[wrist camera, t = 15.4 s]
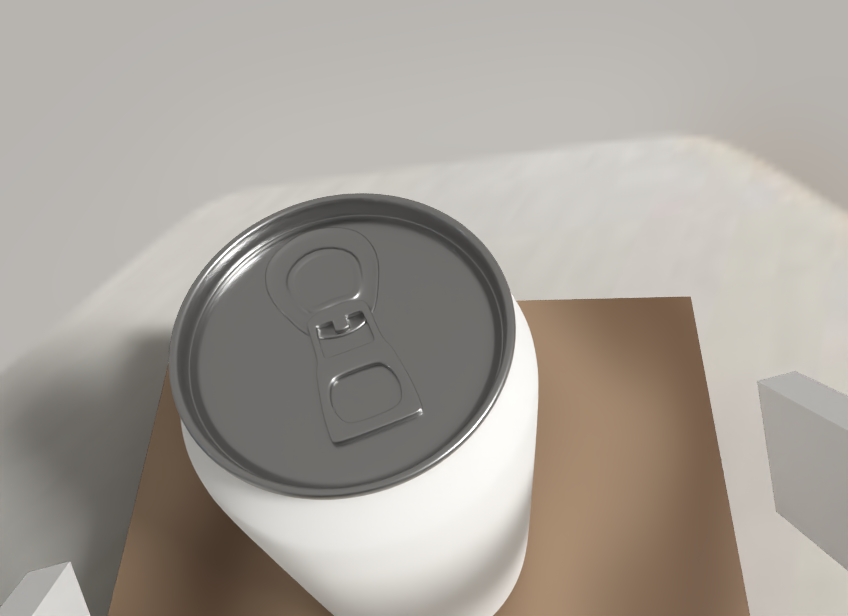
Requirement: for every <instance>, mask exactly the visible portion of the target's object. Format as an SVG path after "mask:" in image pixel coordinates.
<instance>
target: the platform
mask: <svg viewBox="0 0 848 616" xmlns="http://www.w3.org/2000/svg"><path fill="white" fill-rule="evenodd" d="M516 302H517V303H518V305H519V307H520V309H521V311H522V313H523V315H524V317H525V319H526V321H527V324H528V326H529V329H530V332H531V335H532V339H533V343H534V348H535V353H536V359H537V367H538V414H537V430H536V445H535V459H534V472H533V485H532V497H531V509H530V520H529V531H528V540H527V547H526V553H525V558H524V562H523V566H522V569H521V572H520V575H519V577H518V579H517V582H516V584H515V586H514V588H513V590H512V591H511V593H510V595H509V596H508V598H507V599H506V601H505V602H504V604H503V605H502V606H501V607H500V609H499V610H498V611H497V612H496V613H495V614H494V615H493V616H750V613H749V608H748V602H747V597H746V592H745V586H744V581H743V575H742V570H741V565H740V559H739V554H738V549H737V543H736V538H735V533H734V527H733V522H732V516H731V511H730V506H729V500H728V495H727V490H726V484H725V479H724V473H723V468H722V463H721V457H720V452H719V447H718V441H717V436H716V431H715V425H714V420H713V414H712V409H711V404H710V398H709V393H708V388H707V382H706V377H705V371H704V366H703V361H702V355H701V350H700V345H699V339H698V334H697V329H696V323H695V318H694V312H693V307H692V302H691V297H655V298H614V299H572V300H531V301H516ZM108 616H334V615H333V614H332V613H330V612H329V611H328V610H327V609H326V608H325V607H324V606H323V605H322V604H321V603H319V602H318V601H317V600H316V599H315V598H314V597H313V596H312V595H311V594H310V593H309V592H307V591H306V590H305V589H304V588H303V587H302V586H301V585H300V584H299V583H298V582H297V581H296V580H294V579H293V578H292V577H291V576H290V575H289V574H288V573H287V572H286V571H285V570H284V569H283V568H282V567H281V566H279V565H278V564H277V563H276V562H275V561H274V560H273V559H272V558H271V557H270V556H269V555H268V554H267V553H266V552H265V551H264V550H263V549H262V548H260V547H259V546H258V545H257V544H256V543H255V542H254V541H253V540H252V539H251V538H250V537H249V536H248V535H247V534H246V533H245V532H244V531H243V530H242V529H241V528H240V527H239V526H238V525H237V524H236V523H235V522H234V521H233V520H232V519H231V518H230V517H229V516H228V515H227V514H226V513H225V512H224V511H223V510H222V508H221V507H220V506H219V505H218V504H217V503H216V502H215V500H214V499H213V498H212V496H211V495H210V494H209V492H208V491H207V489H206V488H205V486H204V484H203V483H202V481H201V480H200V478H199V476H198V474H197V473H196V471H195V469H194V467H193V465H192V462H191V460H190V457H189V455H188V452H187V449H186V445H185V442H184V438H183V433H182V427H181V418H180V415H179V413H178V411H177V408H176V405H175V402H174V398H173V395H172V390H171V385H170V378H169V364H168V368H167V372H166V376H165V380H164V384H163V389H162V393H161V397H160V401H159V405H158V409H157V413H156V418H155V422H154V426H153V430H152V434H151V438H150V442H149V447H148V451H147V455H146V459H145V463H144V467H143V471H142V476H141V480H140V484H139V488H138V492H137V496H136V500H135V505H134V509H133V513H132V517H131V521H130V525H129V529H128V533H127V538H126V542H125V546H124V550H123V554H122V558H121V562H120V567H119V571H118V575H117V579H116V583H115V587H114V591H113V596H112V600H111V604H110V608H109V612H108Z"/></svg>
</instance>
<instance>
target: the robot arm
mask: <svg viewBox="0 0 848 616" xmlns="http://www.w3.org/2000/svg"><path fill="white" fill-rule="evenodd" d="M757 383H758V390H759V397H760V404H761V411H762V418H763V425H764V431H765V438H766V445H767V452H768V459H769V466H770V473H771V480H772V487H773V493H774V500H775V507H776V512H778V513H779V514H780V515H781V516H782V517H784V518H785V519H786V520H787V521H788V522H790V523H791V524H792V525H793V526H794V527H796V528H797V529H798V530H799V531H800V532H802V533H803V534H804V535H805V536H807V537H808V538H809V539H810V540H811V541H813V542H814V543H815V544H816V545H817V546H819V547H820V548H821V549H822V550H823V551H825V552H826V553H827V554H828V555H830V556H831V557H832V558H833V559H834V560H836V561H837V562H838V563H839V564H840V565H842V566H843V567H844V568H845V569H846V570H848V396H847V395H844V394H842V393H840V392H838V391H836V390H834V389H832V388H830V387H828V386H826V385H823V384H821V383H819V382H817V381H815V380H813V379H811V378H809V377H807V376H804V375H802V374H800V373H798V372H796V371H794V372H791V373H787V374H783V375H779V376H775V377H772V378H768V379H764V380H760V381H757ZM0 616H90V613H89V610H88V608H87V605H86V602H85V600H84V597H83V594H82V592H81V589H80V586H79V584H78V581H77V578H76V576H75V573H74V570H73V568H72V565H71V562H70V561H69V562H65V563H61V564H57V565H53V566H50V567H46V568H42V569H38V570H34V571H30V572H28V573H27V574H26V575H25V577H24V578H23V579H22V581H21V582H20V583H19V584H18V586H17V587H16V588H15V589H14V591H13V592H12V593H11V595H10V596H9V597H8V598H7V600H6V601H5V602H4V604H3V605H2V606H1V607H0Z"/></svg>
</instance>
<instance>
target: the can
mask: <svg viewBox="0 0 848 616" xmlns="http://www.w3.org/2000/svg"><path fill="white" fill-rule="evenodd" d="M169 378H170V385H171V390H172V395H173V398H174V402H175V405H176V408H177V411H178V413H179V415H180V418H181V427H182V433H183V438H184V442H185V445H186V449H187V452H188V455H189V457H190V460H191V462H192V465H193V467H194V469H195V471H196V473H197V474H198V476H199V478H200V480H201V481H202V483H203V484H204V486H205V488H206V489H207V491H208V492H209V494H210V495H211V496H212V498H213V499H214V500H215V502H216V503H217V504H218V505H219V506H220V507H221V508H222V510H223V511H224V512H225V513H226V514H227V515H228V516H229V517H230V518H231V519H232V520H233V521H234V522H235V523H236V524H237V525H238V526H239V527H240V528H241V529H242V530H243V531H244V532H245V533H246V534H247V535H248V536H249V537H250V538H251V539H252V540H253V541H254V542H255V543H256V544H257V545H258V546H259V547H260V548H262V549H263V550H264V551H265V552H266V553H267V554H268V555H269V556H270V557H271V558H272V559H273V560H274V561H275V562H276V563H277V564H278V565H279V566H281V567H282V568H283V569H284V570H285V571H286V572H287V573H288V574H289V575H290V576H291V577H292V578H293V579H294V580H296V581H297V582H298V583H299V584H300V585H301V586H302V587H303V588H304V589H305V590H306V591H307V592H309V593H310V594H311V595H312V596H313V597H314V598H315V599H316V600H317V601H318V602H319V603H321V604H322V605H323V606H324V607H325V608H326V609H327V610H328V611H329V612H330V613H332V614H333V615H334V616H493V615H494V614H495V613H496V612H497V611H498V610H499V609H500V607H501V606H502V605H503V604H504V602H505V601H506V599H507V598H508V596H509V595H510V593H511V591H512V590H513V588H514V586H515V584H516V582H517V579H518V577H519V575H520V572H521V569H522V566H523V562H524V558H525V553H526V547H527V540H528V531H529V520H530V509H531V497H532V485H533V472H534V459H535V445H536V430H537V414H538V367H537V359H536V353H535V348H534V343H533V339H532V335H531V332H530V329H529V326H528V324H527V321H526V319H525V317H524V315H523V313H522V311H521V309H520V307H519V305H518V303H517V302H516V300H515V299H514V297H513V295H512V294H511V293H510V289H509V286H508V284H507V281H506V279H505V276H504V274H503V272H502V270H501V268H500V267H499V265H498V263H497V261H496V260H495V258H494V257H493V255H492V254H491V253H490V251H489V250H488V249H487V248H486V246H485V245H484V244H483V243H482V242H481V241H480V240H479V239H478V238H477V237H476V236H475V235H474V234H473V233H472V232H471V231H470V230H468V229H467V228H466V227H465V226H463V225H462V224H461V223H459V222H458V221H456V220H455V219H453V218H452V217H450V216H448V215H446V214H445V213H443V212H441V211H439V210H437V209H434V208H432V207H430V206H427V205H425V204H422V203H419V202H416V201H413V200H409V199H405V198H401V197H395V196H389V195H381V194H364V193H361V194H342V195H334V196H327V197H322V198H317V199H313V200H309V201H306V202H302V203H299V204H296V205H293V206H291V207H288V208H285V209H283V210H281V211H278V212H276V213H274V214H272V215H270V216H268V217H266V218H264V219H262V220H260V221H259V222H257V223H255V224H254V225H252V226H251V227H249V228H247V229H246V230H245V231H243V232H242V233H240V234H239V235H238V236H236V237H235V238H234V239H233V240H231V241H230V242H229V243H228V244H227V245H226V246H224V247H223V248H222V249H221V250H220V251H219V252H218V253H217V254H216V255H215V256H214V257H213V258H212V259H211V261H210V262H209V263H208V264H207V265H206V266H205V268H204V269H203V270H202V271H201V273H200V274H199V275H198V277H197V278H196V280H195V281H194V283H193V284H192V286H191V288H190V289H189V291H188V293H187V295H186V297H185V299H184V301H183V303H182V305H181V307H180V310H179V312H178V315H177V318H176V321H175V324H174V328H173V332H172V336H171V342H170V349H169Z"/></svg>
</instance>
